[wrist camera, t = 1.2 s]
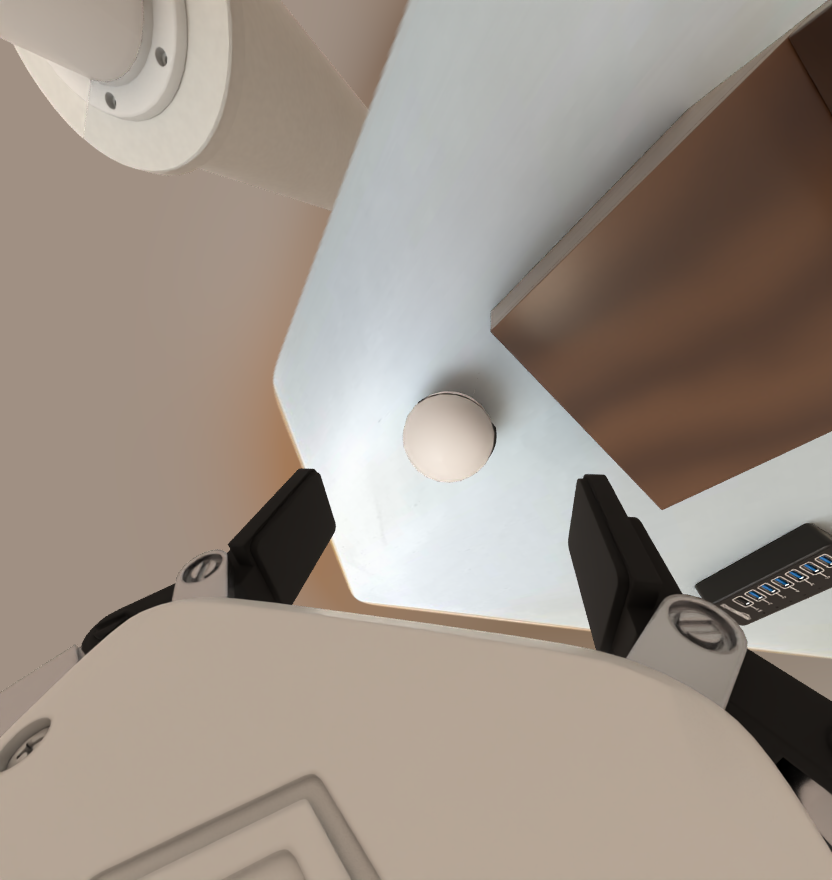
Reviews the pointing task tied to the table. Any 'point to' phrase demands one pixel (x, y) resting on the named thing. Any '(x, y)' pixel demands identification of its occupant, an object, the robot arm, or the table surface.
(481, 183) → the table surface
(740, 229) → the shelf
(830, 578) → the multiport hub
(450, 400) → the cream oval egg shape
